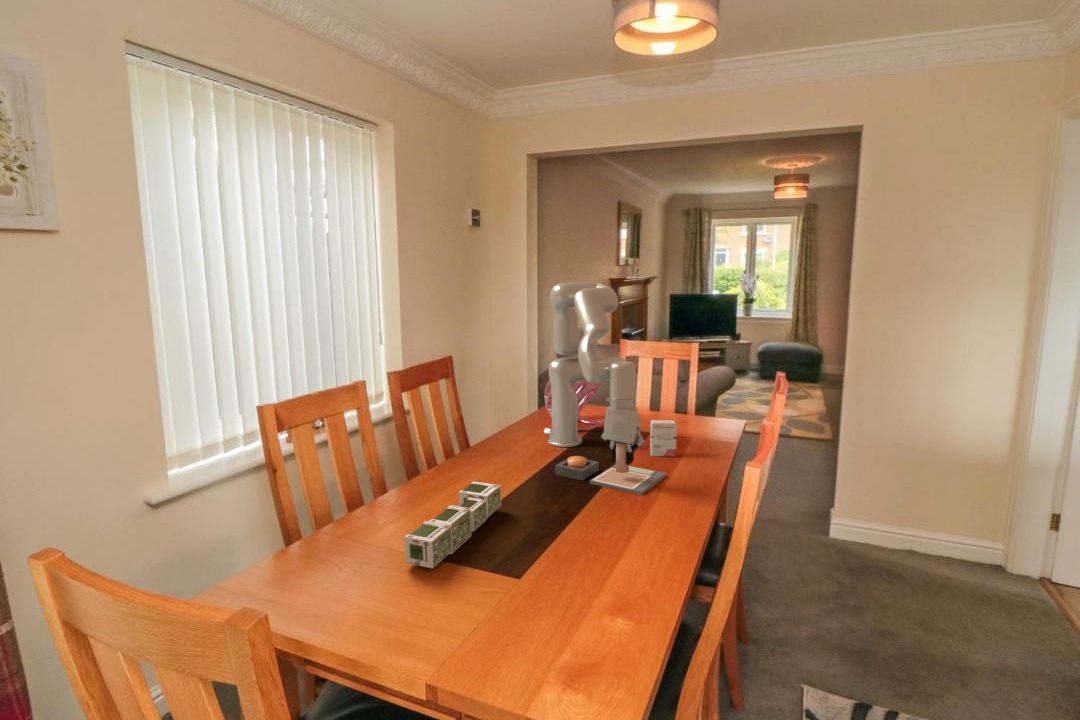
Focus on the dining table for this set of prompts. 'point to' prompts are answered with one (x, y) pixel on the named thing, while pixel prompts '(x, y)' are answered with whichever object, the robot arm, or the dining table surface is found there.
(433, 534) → the row of white-green cartons
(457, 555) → the dining table surface
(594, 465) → the button housing
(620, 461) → the marker
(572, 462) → the button
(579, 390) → the spiral basket
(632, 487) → the picture board
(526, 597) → the dining table surface
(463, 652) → the dining table surface
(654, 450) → the ink box
